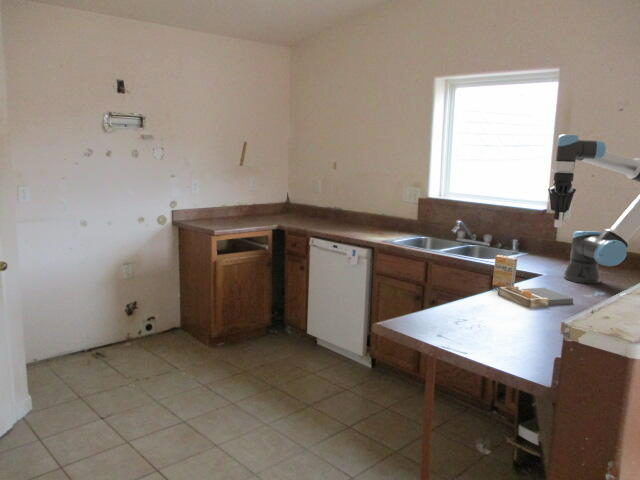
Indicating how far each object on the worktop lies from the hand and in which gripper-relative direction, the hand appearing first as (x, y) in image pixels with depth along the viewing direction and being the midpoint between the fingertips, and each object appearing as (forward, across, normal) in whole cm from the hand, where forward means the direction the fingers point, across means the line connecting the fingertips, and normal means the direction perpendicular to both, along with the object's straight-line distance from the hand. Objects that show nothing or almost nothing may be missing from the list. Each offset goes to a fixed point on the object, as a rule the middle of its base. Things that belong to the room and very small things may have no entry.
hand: (557, 227), depth 226 cm
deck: (+26, +16, +15) cm, 35 cm away
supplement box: (+27, +21, -5) cm, 34 cm away
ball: (+26, +27, +15) cm, 41 cm away
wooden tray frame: (+26, +28, +15) cm, 41 cm away
